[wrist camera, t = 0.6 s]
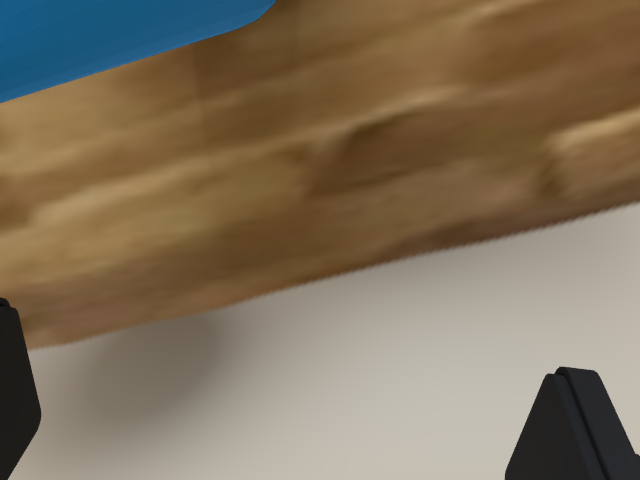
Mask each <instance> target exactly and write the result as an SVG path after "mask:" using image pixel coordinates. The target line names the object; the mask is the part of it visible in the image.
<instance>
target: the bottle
mask: <svg viewBox="0 0 640 480" xmlns="http://www.w3.org/2000/svg"><path fill="white" fill-rule="evenodd" d="M276 1H277V0H0V103H2V102H5V101H8V100H11V99H15V98H18V97H21V96H24V95H27V94H31V93H34V92H37V91H40V90H43V89H47V88H50V87H53V86H56V85H59V84H63V83H66V82H69V81H72V80H75V79H79V78H82V77H85V76H88V75H92V74H95V73H98V72H101V71H104V70H108V69H111V68H114V67H117V66H120V65H124V64H127V63H130V62H133V61H136V60H140V59H143V58H146V57H149V56H152V55H156V54H159V53H162V52H165V51H168V50H172V49H175V48H178V47H181V46H185V45H188V44H191V43H194V42H197V41H201V40H204V39H207V38H210V37H213V36H217V35H220V34H223V33H226V32H229V31H233V30H236V29H238V28H240V27H243V26H245V25H247V24H249V23H251V22H254V21H256V20H258V19H259V18H260V17H261V16H262V15H263V14H264V13H265V12H266V11H267V10H268V9H269V8H270V7H271V6H272V5H273V4H274V3H275V2H276Z"/></svg>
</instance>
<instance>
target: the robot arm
mask: <svg viewBox="0 0 640 480" xmlns="http://www.w3.org/2000/svg"><path fill="white" fill-rule="evenodd" d="M40 420H41V408H40V404H39V400H38V395H37V391H36V387H35V383H34V379H33V374H32V370H31V365H30V361H29V357H28V353H27V348H26V344H25V340H24V335H23V331H22V327H21V322H20V318H19V314H18V311H17V310H16V309H15V308H12V307H10V304H9V302H8V301H7V300H6V299H4V298H0V480H8V478H9V476H10V475H11V473H12V471H13V470H14V468H15V467H16V465H17V463H18V462H19V459H20V458H21V457H22V455H23V453H24V452H25V450H26V448H27V447H28V445H29V443H30V442H31V440H32V438H33V437H34V435H35V434H36V432H37V430H38V427H39V424H40ZM505 480H640V456H639V455H638V454H635V452H634V450H633V448H632V446H631V443H630V441H629V439H628V437H627V435H626V432H625V430H624V428H623V426H622V424H621V422H620V419H619V418H618V415H617V413H616V411H615V409H614V406H613V404H612V402H611V400H610V398H609V396H608V393H607V391H606V389H605V387H604V385H603V382H602V380H601V378H600V376H599V375H598V373H597V372H595V371H594V370H586V369H577V368H569V367H559V368H558V369H557V370H556V372H555V374H547V375H546V376H545V378H544V380H543V382H542V385H541V387H540V389H539V392H538V394H537V397H536V399H535V401H534V404H533V406H532V409H531V411H530V413H529V416H528V418H527V421H526V423H525V426H524V428H523V430H522V433H521V435H520V438H519V440H518V442H517V445H516V447H515V449H514V452H513V454H512V457H511V459H510V461H509V464H508V466H507V469H506V473H505Z"/></svg>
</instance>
